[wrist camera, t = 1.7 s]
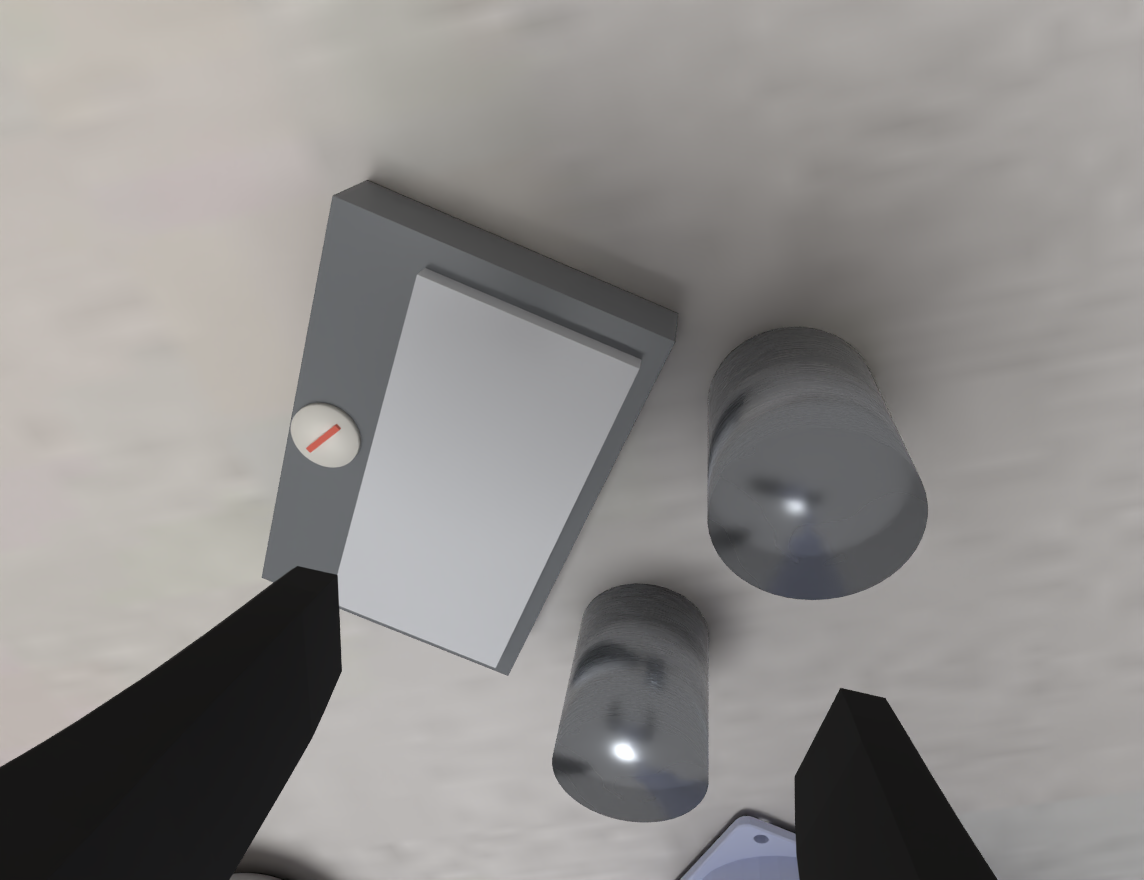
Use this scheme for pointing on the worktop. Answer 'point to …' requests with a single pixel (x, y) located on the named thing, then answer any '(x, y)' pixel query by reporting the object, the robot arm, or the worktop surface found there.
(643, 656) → the cylinder
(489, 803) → the worktop surface
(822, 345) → the cylinder
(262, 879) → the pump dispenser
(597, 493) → the scale
